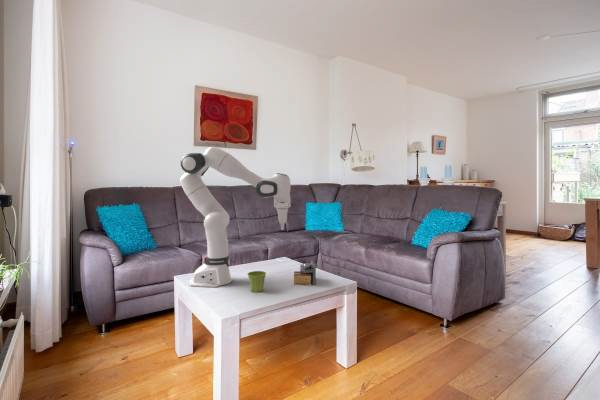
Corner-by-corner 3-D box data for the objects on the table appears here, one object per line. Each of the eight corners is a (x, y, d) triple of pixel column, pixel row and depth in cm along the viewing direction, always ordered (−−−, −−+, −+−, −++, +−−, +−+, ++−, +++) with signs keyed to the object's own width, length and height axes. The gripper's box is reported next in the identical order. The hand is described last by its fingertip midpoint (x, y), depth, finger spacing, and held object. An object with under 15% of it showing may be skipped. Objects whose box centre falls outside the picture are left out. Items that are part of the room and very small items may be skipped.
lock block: (294, 285, 172) (294, 275, 171) (294, 280, 180) (294, 270, 179) (310, 284, 172) (310, 275, 172) (310, 280, 180) (310, 270, 180)
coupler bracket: (301, 285, 170) (301, 267, 169) (300, 278, 182) (300, 261, 182) (315, 285, 171) (315, 266, 170) (313, 278, 183) (313, 260, 182)
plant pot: (248, 287, 167) (248, 271, 167) (266, 286, 168) (266, 270, 168) (247, 293, 158) (246, 276, 157) (266, 293, 159) (266, 276, 158)
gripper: (276, 202, 182) (276, 226, 183) (276, 205, 162) (276, 232, 163) (287, 202, 182) (287, 226, 183) (288, 205, 162) (288, 232, 163)
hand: (282, 229), depth 173 cm, fingers closed
